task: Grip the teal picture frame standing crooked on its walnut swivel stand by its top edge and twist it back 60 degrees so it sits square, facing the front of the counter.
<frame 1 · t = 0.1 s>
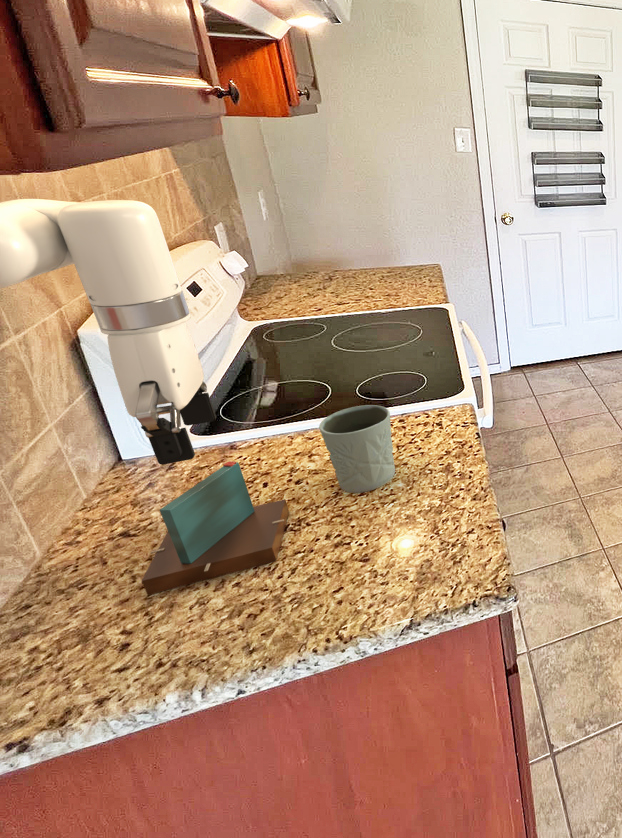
hand: (190, 440, 71), 22 cm above the counter, tool pointing down, fingers open, 9 cm apart
drinking glass: (369, 478, 101), on the counter
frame: (210, 509, 81), point 7 cm above the counter, hinge at 60.0°
frame stand: (225, 549, 84), on the counter
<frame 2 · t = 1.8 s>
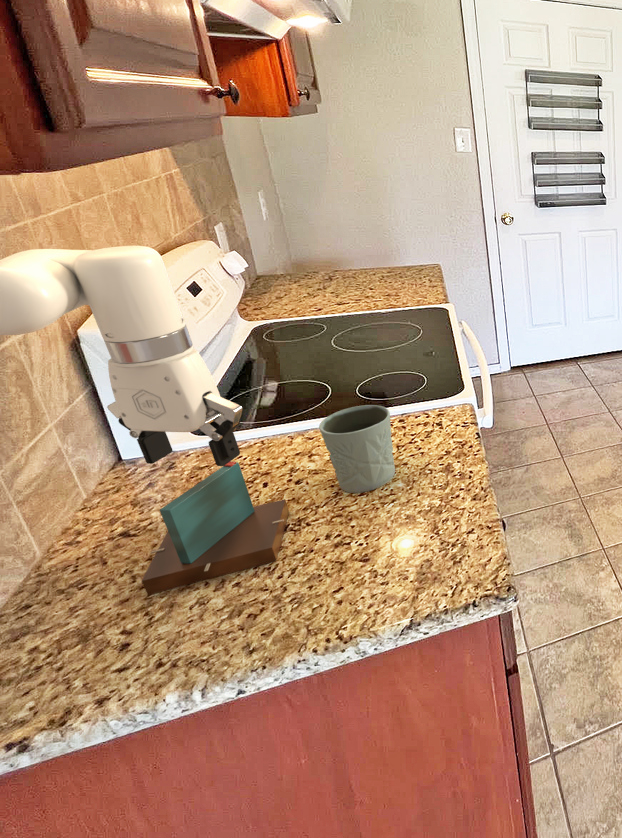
hand: (194, 459, 78), 16 cm above the counter, tool pointing down, fingers open, 9 cm apart
nothing on the counter moved.
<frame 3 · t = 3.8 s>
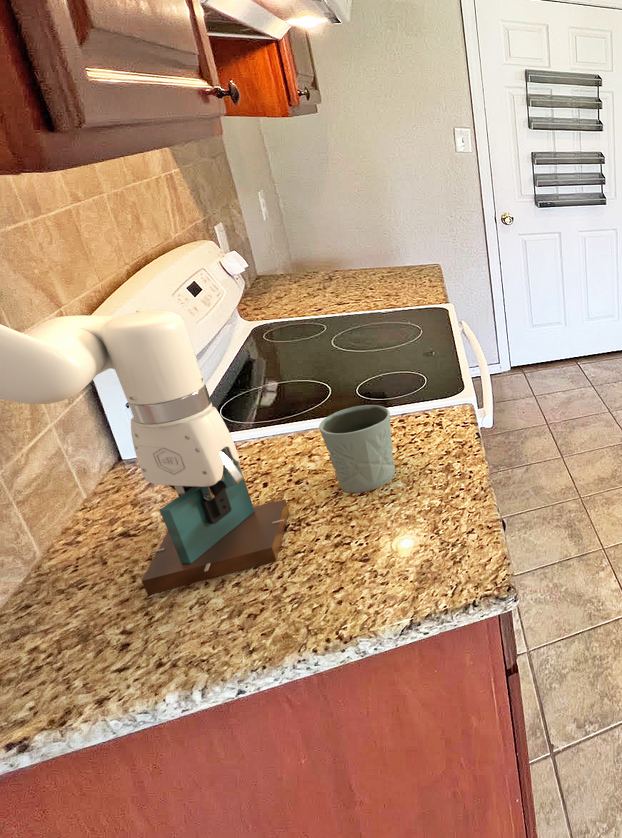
hand: (213, 516, 82), 6 cm above the counter, tool pointing down, fingers closed
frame: (210, 509, 81), point 7 cm above the counter, hinge at 60.0°, touching gripper
everything else where it was.
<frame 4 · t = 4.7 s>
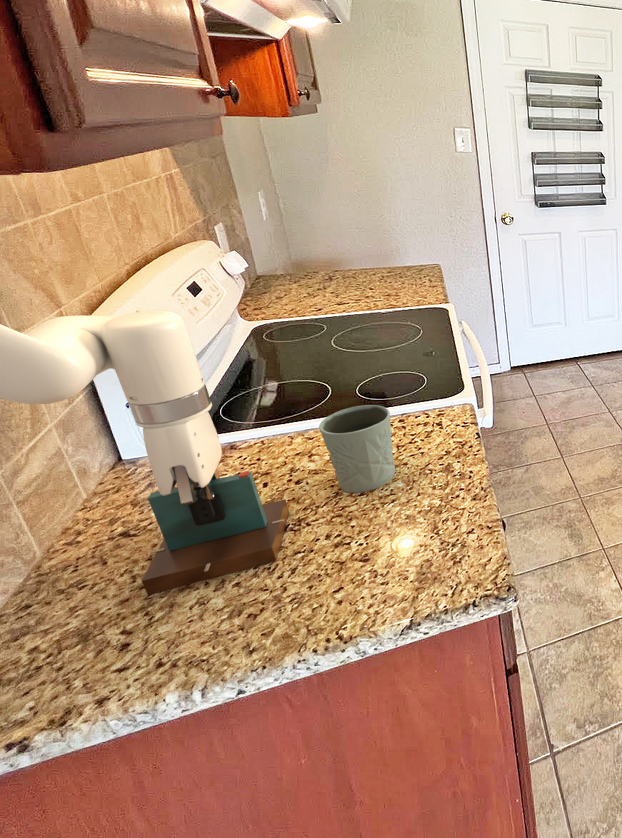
hand: (213, 516, 82), 6 cm above the counter, tool pointing down, fingers closed
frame: (210, 509, 81), point 7 cm above the counter, hinge at 0.6°, touching gripper
everything else where it was.
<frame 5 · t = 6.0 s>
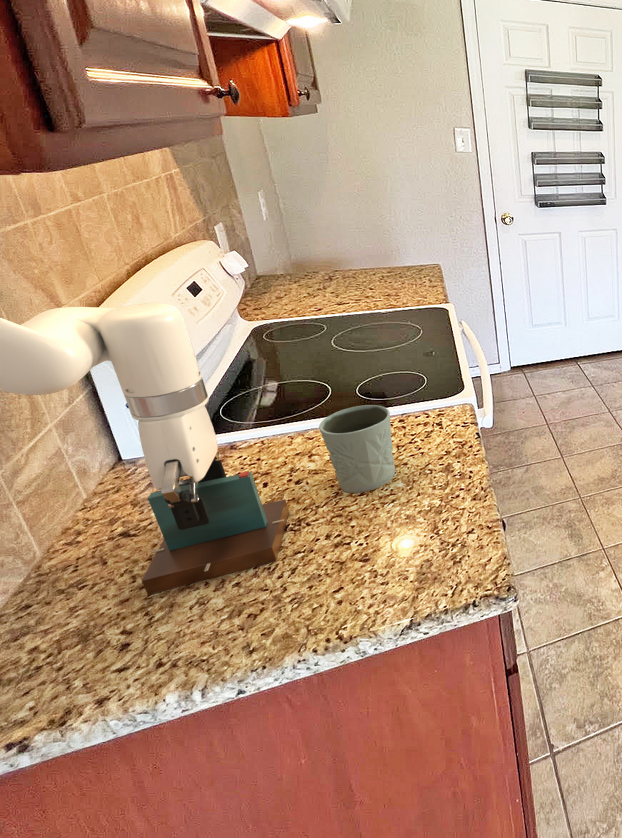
hand: (204, 504, 81), 8 cm above the counter, tool pointing down, fingers open, 9 cm apart
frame: (210, 509, 81), point 7 cm above the counter, hinge at 0.6°
everything else where it was.
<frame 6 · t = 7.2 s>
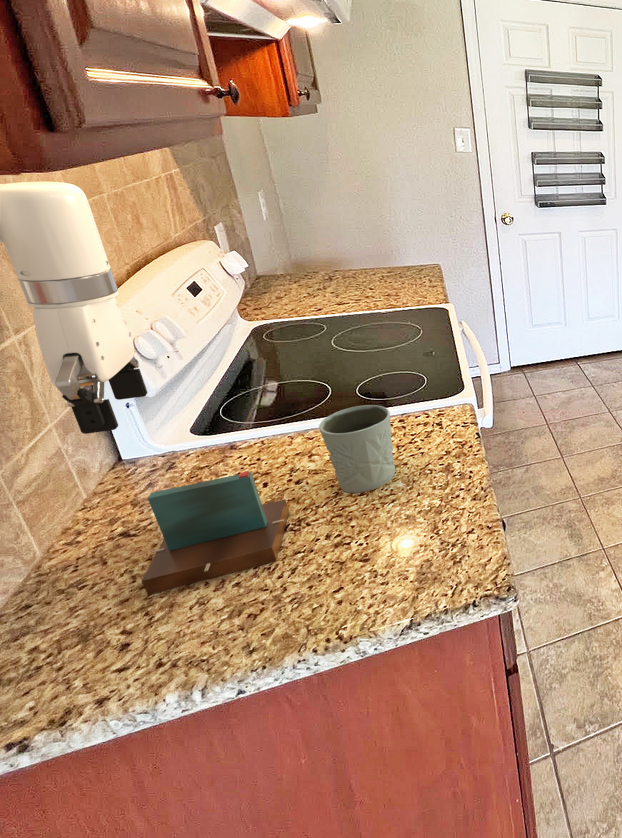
hand: (117, 413, 75), 23 cm above the counter, tool pointing down, fingers open, 9 cm apart
nothing on the counter moved.
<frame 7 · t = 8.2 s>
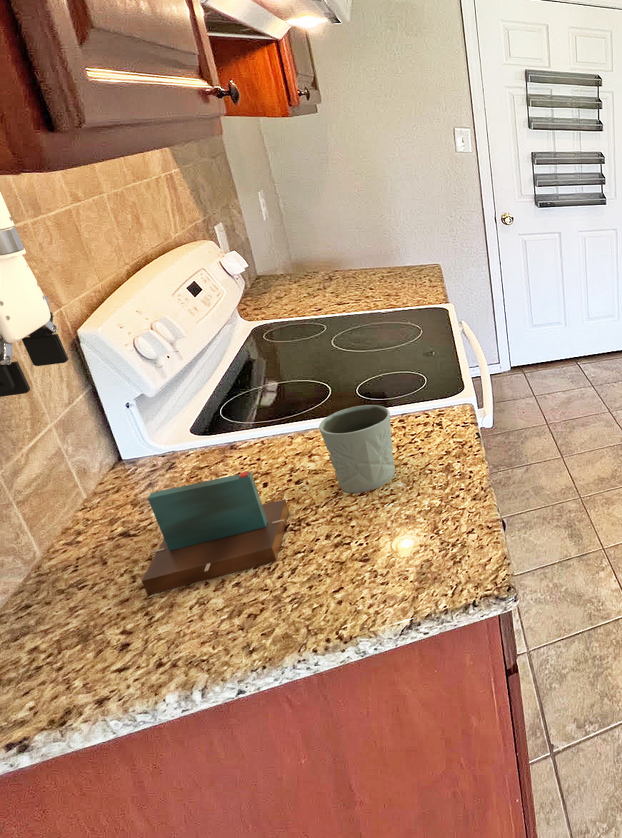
hand: (32, 378, 72), 28 cm above the counter, tool pointing down, fingers open, 9 cm apart
nothing on the counter moved.
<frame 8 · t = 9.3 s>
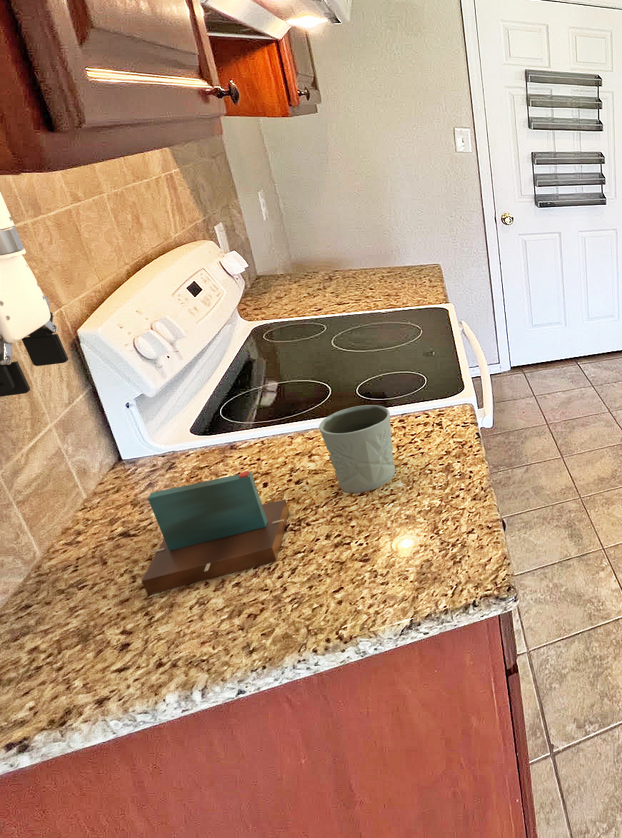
hand: (32, 378, 72), 28 cm above the counter, tool pointing down, fingers open, 9 cm apart
nothing on the counter moved.
at the end: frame at +1° (first picture: +60°) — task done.
